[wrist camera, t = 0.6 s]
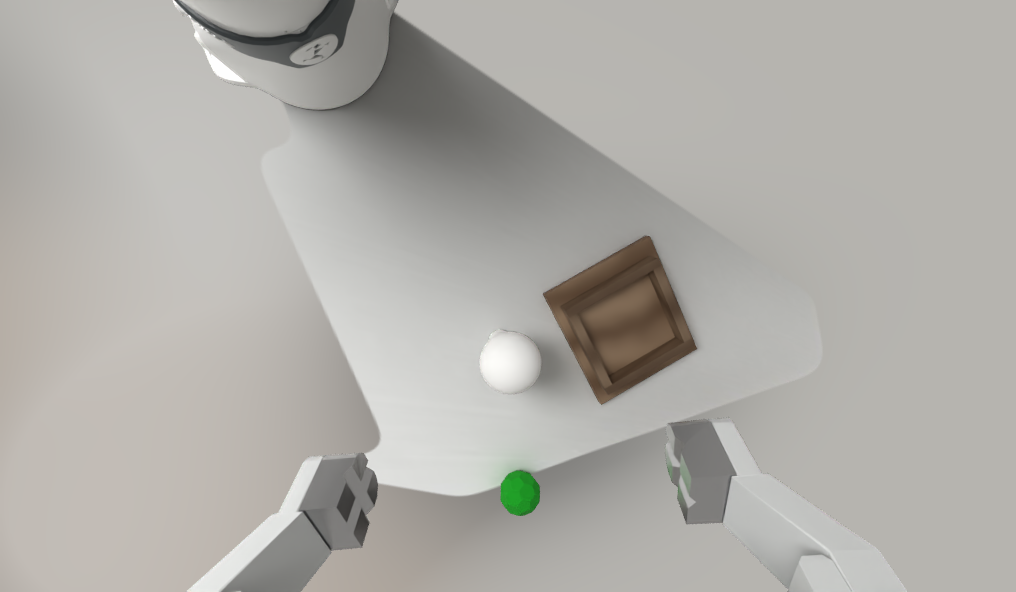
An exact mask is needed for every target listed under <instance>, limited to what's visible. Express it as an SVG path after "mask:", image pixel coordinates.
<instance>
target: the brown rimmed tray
mask: <svg viewBox="0 0 1016 592" xmlns="http://www.w3.org/2000/svg"><path fill="white" fill-rule="evenodd" d="M543 295H544V297H545V299H546V301H547V303H548V305H549V307H550V309H551V311H552V313H553V315H554V317H555V318H556V320H557V322H558V324H559V326H560V328H561V330H562V332H563V334H564V336H565V338H566V340H567V342H568V344H569V346H570V347H571V349H572V351H573V353H574V355H575V357H576V359H577V361H578V363H579V365H580V367H581V369H582V371H583V373H584V375H585V376H586V378H587V380H588V382H589V384H590V386H591V388H592V390H593V392H594V394H595V396H596V398H597V400H598V401H599V403H600V404H601V405H602V404H603V403H605V402H607V401H609V400H610V399H612V398H614V397H615V396H617V395H619V394H621V393H622V392H624V391H626V390H627V389H629V388H631V387H633V386H634V385H636V384H638V383H639V382H641V381H643V380H645V379H646V378H648V377H650V376H651V375H653V374H655V373H656V372H658V371H660V370H662V369H663V368H665V367H667V366H668V365H670V364H672V363H674V362H675V361H677V360H679V359H680V358H682V357H684V356H686V355H687V354H689V353H691V352H692V351H694V350H696V349H697V348H696V345H695V343H694V340H693V338H692V336H691V333H690V331H689V328H688V326H687V324H686V321H685V319H684V317H683V314H682V312H681V309H680V307H679V305H678V302H677V300H676V297H675V295H674V293H673V290H672V288H671V285H670V283H669V281H668V278H667V276H666V273H665V271H664V269H663V266H662V264H661V262H660V259H659V257H658V254H657V252H656V250H655V247H654V245H653V242H652V240H651V238H650V236H645V237H643V238H641V239H639V240H638V241H636V242H634V243H632V244H630V245H629V246H627V247H625V248H623V249H622V250H620V251H618V252H616V253H614V254H613V255H611V256H609V257H607V258H606V259H604V260H602V261H600V262H599V263H597V264H595V265H593V266H591V267H590V268H588V269H586V270H584V271H583V272H581V273H579V274H577V275H576V276H574V277H572V278H570V279H568V280H567V281H565V282H563V283H561V284H560V285H558V286H556V287H554V288H553V289H551V290H549V291H547V292H545V293H544V294H543Z"/></svg>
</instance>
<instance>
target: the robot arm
mask: <svg viewBox="0 0 1016 592" xmlns="http://www.w3.org/2000/svg"><path fill="white" fill-rule="evenodd" d="M173 2H174V4H175V6H176V8H177V9H178V11H179V12H180V13H181V15H182V16H184V17H186V16H189V17H190V19H191V21H192V24H193V26H194V28H195V31H196V33H195V34H194V36H195V38H196V39H197V41H198V42H199V43H200V44H201V45H202V46H203V49H204V51H205V54H206V56H207V58H208V60H209V63H210V65H211V67H212V69H213V71H214V72H215V74H216V75H217V76H218V77H219V78H221V79H222V80H223V81H225V82H227V83H230V84H234V85H239V86H245V87H254V88H257V89H260V90H262V91H264V92H266V93H268V94H270V95H271V96H273V97H275V98H277V99H279V100H281V101H283V102H285V103H288V104H290V105H293V106H297V107H301V108H306V109H316V110H321V109H331V108H336V107H340V106H343V105H345V104H348V103H350V102H352V101H354V100H355V99H357V98H359V97H360V96H361V95H363V94H364V93H365V92H366V91H367V90H368V89H369V88H370V87H371V86H372V85H373V83H374V82H375V81H376V79H377V78H378V76H379V74H380V72H381V70H382V68H383V66H384V63H385V60H386V56H387V51H388V43H389V24H390V18H391V16H392V14H393V12H394V9H395V7H396V5H397V3H398V0H173ZM666 435H667V438H668V443H666V444H665V456H666V464H667V468H668V472H669V475H670V478H671V481H672V483H674V484H675V485H676V486H677V487H678V501H679V504H680V507H681V510H682V513H683V516H684V518H685V521H686V524H702V523H723V525H724V526H725V527H726V528H727V529H728V530H729V531H730V532H731V533H732V534H733V535H734V536H735V537H736V538H737V539H738V540H739V541H740V542H741V543H742V544H743V545H744V546H745V547H746V548H747V549H748V550H749V551H750V552H751V553H752V554H753V555H754V556H755V557H756V558H757V559H758V560H759V561H760V562H761V563H762V564H763V565H764V566H765V567H766V568H767V569H768V570H769V571H770V572H771V573H772V574H773V575H774V576H775V577H776V578H777V579H778V580H779V581H780V582H781V583H782V584H783V585H784V586H785V587H786V588H787V589H788V592H907V590H906V589H905V587H904V586H903V585H902V583H901V582H900V580H899V579H898V577H897V576H896V574H895V573H894V572H893V570H892V569H891V567H890V566H889V564H888V563H887V562H886V560H885V559H884V558H883V556H882V554H881V553H880V551H879V550H878V549H877V548H875V547H874V546H872V545H871V544H869V543H868V542H866V541H865V540H864V539H862V538H861V537H859V536H858V535H856V534H855V533H854V532H852V531H851V530H849V529H848V528H846V527H845V526H844V525H842V524H841V523H839V522H838V521H836V520H835V519H834V518H832V517H831V516H829V515H828V514H826V513H825V512H824V511H822V510H821V509H819V508H818V507H816V506H815V505H813V504H812V503H811V502H809V501H808V500H806V499H805V498H803V497H802V496H801V495H799V494H798V493H796V492H795V491H793V490H792V489H791V488H789V487H788V486H786V485H785V484H783V483H782V482H781V481H779V480H778V479H776V478H775V477H773V476H772V475H770V474H768V473H767V474H762V472H761V470H760V469H759V467H758V465H757V463H756V461H755V460H754V458H753V456H752V454H751V453H750V451H749V449H748V447H747V445H746V444H745V442H744V440H743V438H742V437H741V435H740V433H739V432H738V429H737V428H736V426H735V424H734V422H733V421H732V420H731V419H730V418H717V419H708V420H706V419H703V420H693V421H684V422H675V423H668V424H667V426H666ZM367 462H368V460H367V458H366V456H365V454H364V453H354V454H339V455H325V456H313V457H308V458H307V459H306V460H305V461H304V462H303V464H302V466H301V468H300V470H299V472H298V474H297V476H296V478H295V480H294V482H293V484H292V486H291V488H290V490H289V492H288V494H287V496H286V498H285V500H284V502H283V504H282V507H281V508H280V510H279V512H278V513H276V514H272V515H271V516H270V517H269V518H268V519H267V520H265V521H264V522H263V523H262V524H261V525H260V526H259V527H258V528H257V529H255V531H253V532H252V533H251V534H250V535H249V536H248V537H247V538H245V539H244V540H243V541H242V542H241V543H240V544H239V545H238V546H237V547H235V548H234V550H232V551H231V552H230V553H229V554H228V555H226V557H224V558H223V559H222V560H221V561H220V562H219V563H218V564H216V565H215V566H214V567H213V568H212V569H211V570H210V571H209V572H208V573H207V574H205V575H204V576H203V577H202V578H201V579H200V580H199V581H198V582H197V583H195V584H194V585H193V586H192V587H191V588H190V589H189V590H188V591H186V592H301V591H302V589H303V588H304V587H305V586H306V584H307V583H308V582H309V580H310V579H311V578H312V577H313V575H314V574H315V573H316V572H317V570H318V569H319V568H320V567H321V565H322V564H323V563H324V562H325V560H326V559H327V558H328V556H329V555H330V554H331V551H332V550H342V549H352V548H361V547H362V546H363V542H364V539H365V536H366V533H367V529H368V526H369V520H368V518H367V514H368V513H369V512H370V510H371V509H372V508H373V507H374V506H375V502H376V499H377V491H378V483H377V478H376V475H375V473H374V471H373V470H371V469H369V468H368V467H366V465H367Z"/></svg>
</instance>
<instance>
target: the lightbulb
mask: <svg viewBox="0 0 1016 592" xmlns="http://www.w3.org/2000/svg"><path fill="white" fill-rule="evenodd" d="M541 364H542V362H541V355H540V352H539V349H538V348H537V346H536V344H535V343H534V342H533V341H532V340H531V339H530V338H529V337H527V336H525V335H523V334H521V333H517V332H506V331H504V330H495V331H494V332H492V333H491V335H490V336H489V341H488V342H487V343H486V345H485V346H484V348H483V350H482V352H481V356H480V364H479V365H480V371H481V374H482V376H483V378H484V380H485V381H486V383H487V384H488V385H489V386H490V387H491V388H493V389H494V390H496V391H498V392H501V393H503V394H518V393H521V392H524V391H525V390H527V389H529V388H530V387H531V386H532V385H533V384H534V383H535V382H536V380H537V378H538V377H539V374H540V371H541Z"/></svg>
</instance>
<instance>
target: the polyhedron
mask: <svg viewBox="0 0 1016 592" xmlns="http://www.w3.org/2000/svg"><path fill="white" fill-rule="evenodd" d="M539 499H540V487H539V484H538V483H537V482H536V481H535V479H534V478H533V477H532V476H531V474H530V473H527V472H523V471H514V472H512V473H509V474H508V475H507V477H506V478H505V479H504V481H503V482H502V483H501V502H502V504H503V505H504V507H505V508H506V509H507V510H508V511H509V512H510V513H511V514H514V515H518V516H523V515H526V514H528V513H531V512H532V511H533V510H534V509H535V508H536V506H537V505H538V503H539Z"/></svg>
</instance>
